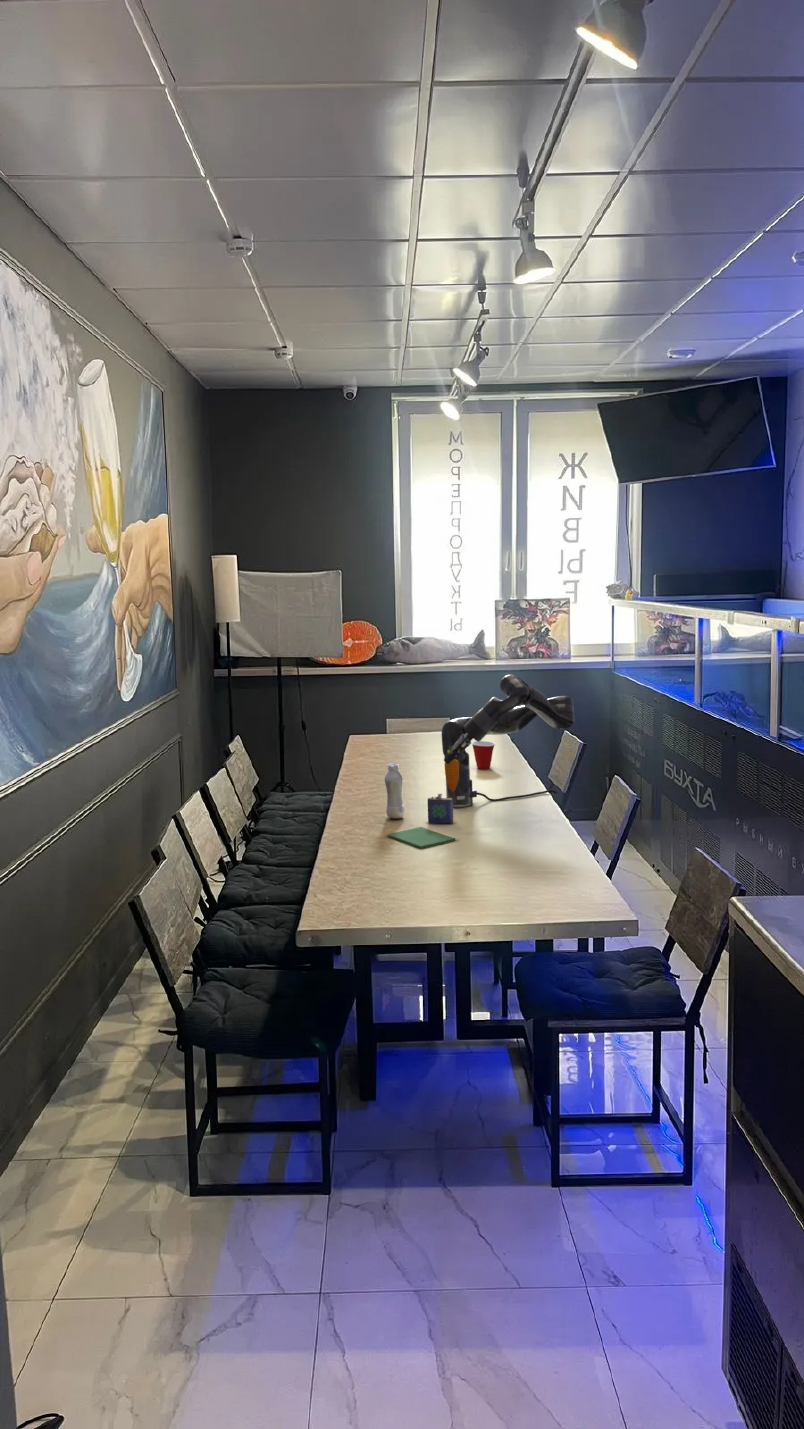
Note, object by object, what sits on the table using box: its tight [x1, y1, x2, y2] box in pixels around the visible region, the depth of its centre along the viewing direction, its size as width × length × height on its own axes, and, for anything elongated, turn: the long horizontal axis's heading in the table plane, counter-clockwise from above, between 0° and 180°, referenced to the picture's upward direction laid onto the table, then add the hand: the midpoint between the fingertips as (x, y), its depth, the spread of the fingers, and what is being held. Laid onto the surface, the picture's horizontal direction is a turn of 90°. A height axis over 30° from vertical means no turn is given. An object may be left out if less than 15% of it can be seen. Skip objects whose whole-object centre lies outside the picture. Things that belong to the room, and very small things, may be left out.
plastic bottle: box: [384, 763, 405, 820], centre depth 350 cm, size 6×7×20 cm
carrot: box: [444, 750, 459, 792], centre depth 326 cm, size 5×5×15 cm
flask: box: [427, 793, 454, 825], centre depth 341 cm, size 9×3×11 cm, turn 74°
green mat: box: [386, 826, 456, 849], centre depth 323 cm, size 14×20×1 cm
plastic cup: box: [471, 740, 496, 771], centre depth 434 cm, size 11×11×12 cm
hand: (446, 760), depth 326 cm, fingers closed on carrot, 4 cm apart
